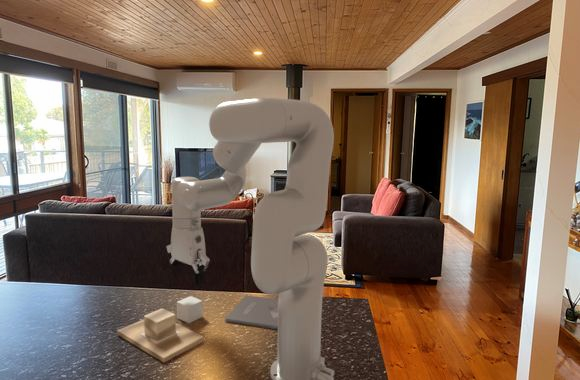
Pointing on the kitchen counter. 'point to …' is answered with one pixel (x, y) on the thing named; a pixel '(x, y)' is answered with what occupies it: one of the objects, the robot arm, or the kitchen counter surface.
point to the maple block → (159, 324)
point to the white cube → (189, 309)
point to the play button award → (255, 312)
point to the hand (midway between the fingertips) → (187, 280)
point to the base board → (161, 341)
